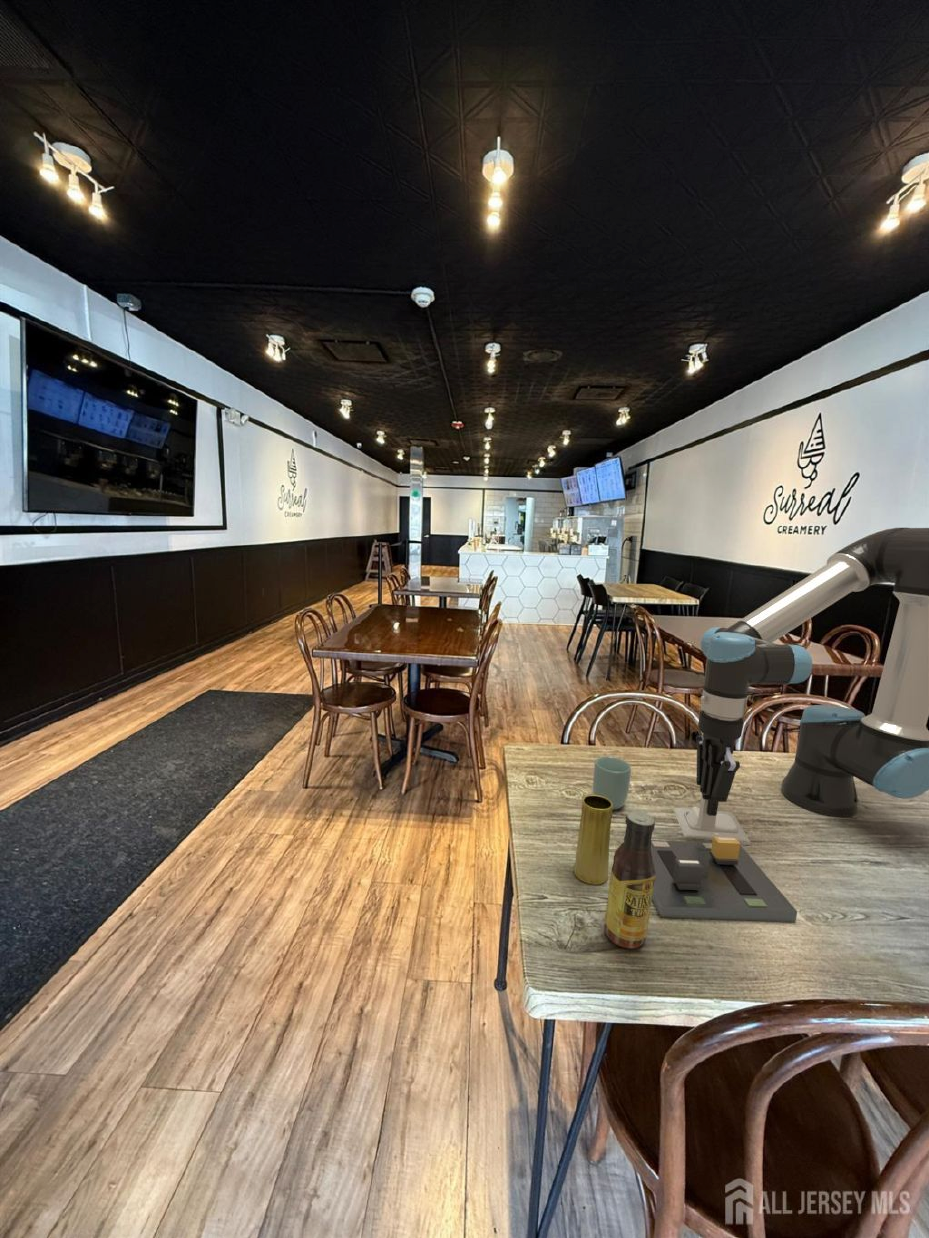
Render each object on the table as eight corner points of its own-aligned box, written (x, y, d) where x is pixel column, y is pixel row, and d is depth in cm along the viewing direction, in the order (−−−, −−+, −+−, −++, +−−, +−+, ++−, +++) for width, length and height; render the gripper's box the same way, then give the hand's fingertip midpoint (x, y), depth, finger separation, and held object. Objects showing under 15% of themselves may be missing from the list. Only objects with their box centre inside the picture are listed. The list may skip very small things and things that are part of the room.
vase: (614, 883, 90) (621, 809, 88) (582, 887, 89) (589, 812, 86) (598, 861, 96) (605, 791, 93) (568, 864, 95) (574, 794, 92)
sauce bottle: (622, 957, 75) (635, 834, 71) (595, 926, 80) (606, 811, 77) (656, 944, 77) (671, 825, 74) (628, 915, 83) (640, 803, 79)
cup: (614, 818, 111) (618, 775, 109) (584, 803, 116) (588, 762, 115) (633, 806, 116) (637, 765, 114) (604, 792, 122) (607, 753, 120)
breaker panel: (737, 852, 100) (738, 842, 100) (795, 922, 83) (797, 910, 82) (626, 848, 100) (627, 838, 100) (660, 917, 83) (662, 905, 82)
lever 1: (693, 878, 89) (696, 856, 88) (701, 890, 86) (704, 867, 85) (671, 877, 89) (673, 855, 88) (678, 889, 86) (681, 867, 85)
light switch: (673, 797, 115) (734, 801, 113) (672, 814, 116) (732, 818, 114) (684, 824, 105) (752, 830, 102) (683, 842, 105) (750, 848, 103)
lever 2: (730, 854, 96) (733, 834, 95) (738, 864, 93) (741, 844, 92) (709, 853, 96) (711, 833, 95) (716, 864, 93) (719, 843, 92)
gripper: (687, 701, 103) (674, 807, 108) (718, 726, 91) (701, 845, 95) (724, 702, 103) (709, 809, 108) (760, 727, 91) (742, 847, 95)
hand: (705, 826), depth 101 cm, fingers closed
